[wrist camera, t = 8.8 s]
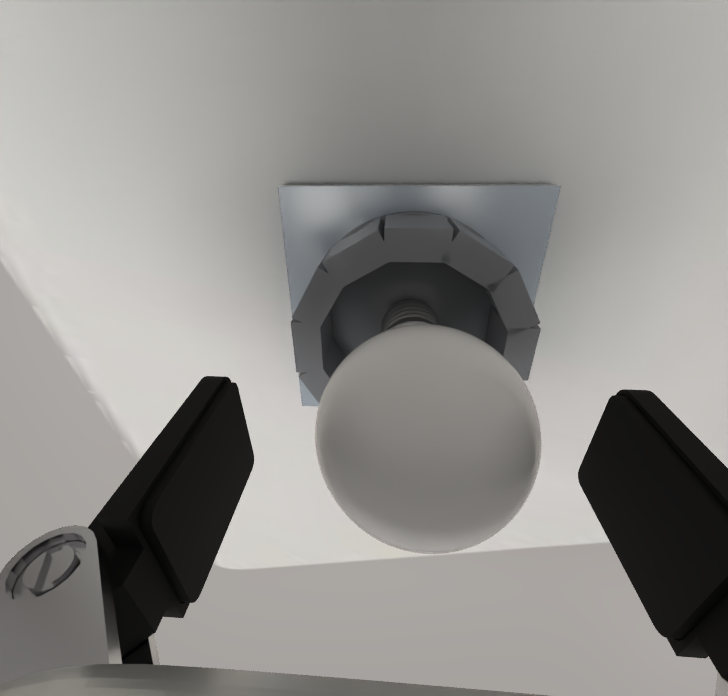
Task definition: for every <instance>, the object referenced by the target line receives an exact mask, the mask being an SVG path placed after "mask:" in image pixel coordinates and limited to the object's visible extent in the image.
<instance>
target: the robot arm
mask: <svg viewBox="0 0 728 696" xmlns="http://www.w3.org/2000/svg"><path fill="white" fill-rule="evenodd" d="M253 464H254V454H253V450H252V445H251V441H250V437H249V433H248V428H247V424H246V420H245V416H244V412H243V407H242V403H241V399H240V395H239V390H238V387H237V384H236V383H231V380H230V379H229V378H228V377H215V376H206V377H204V378H202V379H201V381H200V382H199V383H198V385H197V386H196V387H195V389H194V390H193V391H192V393H191V394H190V395H189V396H188V398H187V399H186V400H185V402H184V403H183V404H182V406H181V407H180V408H179V410H178V411H177V412H176V413H175V415H174V416H173V417H172V419H171V420H170V421H169V423H168V424H167V425H166V427H165V428H164V429H163V430H162V432H161V433H160V434H159V435H158V437H157V438H156V439H155V441H154V442H153V443H152V445H151V446H150V447H149V448H148V450H147V451H146V452H145V454H144V455H143V456H142V458H141V459H140V460H139V461H138V463H137V464H136V465H135V467H134V468H133V470H132V471H131V472H130V473H129V475H128V476H127V477H126V478H125V480H124V481H123V483H122V484H121V485H120V487H119V488H118V489H117V490H116V492H115V493H114V494H113V495H112V497H111V498H110V500H109V501H108V502H107V503H106V505H105V506H104V507H103V509H102V510H101V511H100V513H99V514H98V515H97V516H96V518H95V519H94V520H93V522H92V523H91V524H90V526H89V527H88V528H87V527H83V526H77V525H75V526H68V527H62V528H59V529H56V530H53V531H50V532H48V533H46V534H44V535H42V536H41V537H39V538H37V539H35V540H34V541H32V542H31V543H29V544H28V545H27V546H25V547H24V548H23V549H21V550H20V551H19V552H18V553H17V554H16V555H15V556H14V557H13V558H12V559H11V560H10V561H9V562H8V563H7V564H6V565H5V567H4V568H3V570H2V572H1V573H0V696H547V695H535V694H523V693H511V692H500V691H488V690H477V689H465V688H454V687H442V686H430V685H418V684H406V683H395V682H383V681H370V680H359V679H346V678H333V677H321V676H309V675H296V674H284V673H271V672H259V671H246V670H234V669H218V668H202V667H183V666H168V665H160V662H159V657H158V652H157V647H156V643H155V637H154V633H155V632H156V630H157V628H158V626H159V623H160V622H161V619H162V617H176V618H177V617H178V618H183V617H184V615H185V613H186V610H187V608H188V606H189V603H193V602H195V601H196V600H197V599H198V597H199V595H200V593H201V591H202V589H203V586H204V584H205V581H206V579H207V577H208V574H209V572H210V570H211V567H212V565H213V562H214V560H215V557H216V555H217V553H218V550H219V548H220V545H221V543H222V541H223V538H224V536H225V533H226V531H227V529H228V526H229V524H230V521H231V519H232V517H233V514H234V512H235V509H236V507H237V504H238V502H239V500H240V497H241V495H242V492H243V490H244V488H245V485H246V483H247V480H248V478H249V476H250V473H251V471H252V468H253ZM578 479H579V483H580V485H581V487H582V489H583V491H584V493H585V495H586V497H587V499H588V501H589V503H590V504H591V506H592V508H593V510H594V512H595V514H596V516H597V518H598V520H599V522H600V524H601V525H602V527H603V529H604V531H605V533H606V535H607V537H608V539H609V541H610V543H611V544H612V546H613V548H614V550H615V552H616V554H617V556H618V558H619V560H620V562H621V563H622V565H623V567H624V569H625V571H626V573H627V575H628V577H629V579H630V581H631V582H632V585H633V586H634V588H635V590H636V592H637V594H638V596H639V598H640V600H641V602H642V603H643V605H644V607H645V609H646V611H647V613H648V615H649V617H650V619H651V621H652V623H653V625H654V626H655V628H656V629H657V631H658V632H659V633H660V634H661V635H662V636H664V637H666V638H667V639H668V641H669V643H670V645H671V646H672V648H673V650H674V652H675V654H676V656H682V657H697V658H707V657H708V656H709V657H710V659H711V660H712V662H713V664H714V666H715V667H716V669H717V670H718V674H717V683H716V691H715V696H728V468H727V467H726V466H725V465H724V464H723V463H722V462H721V461H720V460H719V459H718V458H717V457H716V456H715V455H714V454H713V453H712V452H711V451H710V450H709V449H708V448H707V447H706V446H705V445H704V444H703V443H702V442H701V441H700V440H699V439H698V438H697V437H696V436H695V435H694V434H693V433H692V432H691V431H690V430H689V429H688V428H687V427H686V426H685V425H684V424H683V423H682V422H681V420H680V419H679V418H678V417H677V416H676V415H675V414H674V413H673V412H672V411H671V410H670V409H669V408H668V407H667V406H666V405H665V404H664V403H663V402H662V401H661V400H660V399H659V398H658V397H657V396H656V395H655V394H654V393H652V392H651V391H647V390H620V391H619V392H618V393H617V394H616V395H614V396H612V397H610V399H609V401H608V403H607V405H606V408H605V410H604V412H603V415H602V417H601V419H600V422H599V424H598V426H597V429H596V431H595V433H594V436H593V438H592V440H591V443H590V445H589V447H588V450H587V452H586V454H585V457H584V459H583V461H582V464H581V466H580V468H579V472H578Z"/></svg>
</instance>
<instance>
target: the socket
mask: <svg viewBox="0 0 728 696" xmlns="http://www.w3.org/2000/svg"><path fill="white" fill-rule="evenodd" d="M560 187H561V186H559V185H554V184H302V185H281V186H278V191H279V200H280V209H281V218H282V227H283V236H284V245H285V254H286V263H287V272H288V281H289V291H290V300H291V309H292V318H293V320H292V321H291V328H292V337H293V346H294V355H295V363H296V372H299V381H300V390H301V399H302V406H319V403H320V400H321V397H322V394H323V392H324V389H325V387H326V385H327V383H328V381H329V379H330V377H331V376H332V374H333V373H334V371H335V370H336V368H337V367H338V366H339V364H340V363H341V362H342V361H343V360H344V359H345V357H346V356H347V355H348V354H349V353H351V352H352V351H353V350H354V349H355V348H356V347H358V346H359V345H360V344H362V343H363V342H365V341H366V340H368V339H370V338H371V337H373V336H375V335H377V334H379V333H381V326H382V320H383V317H384V315H385V313H386V312H387V310H388V309H389V308H390V307H391V306H393V305H394V304H396V303H398V302H401V301H404V300H418V301H421V302H424V303H426V304H428V305H429V306H430V307H431V308H432V309H433V310H434V311H435V313H436V314H437V317H438V320H439V324H440V325H442V326H447V327H451V328H455V329H458V330H461V331H464V332H467V333H469V334H471V335H473V336H475V337H477V338H479V339H481V340H483V341H484V342H486V343H487V344H489V345H490V346H492V347H493V348H494V349H496V350H497V351H498V352H499V353H500V354H502V355H503V356H504V357H505V358H506V359H507V360H508V361H509V362H510V364H511V365H512V366H513V367H514V368H515V369H516V371H517V372H518V373H519V375H520V376H521V378H522V379H523V380H528V378H529V374H530V370H531V366H532V362H533V358H534V354H535V350H536V345H537V341H538V337H539V333H540V327H539V326H538V325H537V324H540V321H539V319H538V316H537V314H536V311H535V309H534V306H533V305H534V300H535V296H536V292H537V287H538V283H539V279H540V274H541V270H542V265H543V261H544V257H545V252H546V248H547V244H548V239H549V235H550V231H551V226H552V222H553V217H554V213H555V209H556V204H557V200H558V196H559V191H560Z"/></svg>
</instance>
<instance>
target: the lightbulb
mask: <svg viewBox="0 0 728 696" xmlns="http://www.w3.org/2000/svg"><path fill="white" fill-rule="evenodd" d="M315 444H316V452H317V458H318V463H319V466H320V470H321V473H322V476H323V478H324V481H325V483H326V485H327V487H328V489H329V491H330V493H331V495H332V497H333V498H334V500H335V501H336V503H337V504H338V506H339V507H340V508H341V509H342V511H343V512H344V513H345V514H346V515H347V516H348V517H349V518H350V519H351V520H352V521H353V522H354V523H355V524H356V525H357V526H358V527H359V528H361V529H362V530H363V531H365V532H366V533H367V534H369V535H371V536H372V537H374V538H376V539H377V540H379V541H381V542H383V543H385V544H388V545H390V546H393V547H396V548H399V549H402V550H406V551H410V552H416V553H425V554H441V553H449V552H455V551H459V550H463V549H466V548H469V547H472V546H475V545H477V544H479V543H481V542H483V541H485V540H487V539H489V538H490V537H492V536H493V535H495V534H496V533H498V532H499V531H500V530H501V529H503V528H504V527H505V526H506V525H507V524H508V523H509V522H510V521H511V520H512V519H513V518H514V517H515V516H516V514H517V513H518V512H519V511H520V509H521V508H522V506H523V505H524V503H525V502H526V500H527V498H528V496H529V494H530V492H531V490H532V488H533V485H534V483H535V480H536V477H537V473H538V469H539V464H540V458H541V430H540V423H539V418H538V414H537V410H536V407H535V404H534V401H533V399H532V396H531V394H530V392H529V390H528V388H527V386H526V384H525V382H524V381H523V379H522V378H521V376H520V375H519V373H518V372H517V371H516V369H515V368H514V367H513V366H512V365H511V364H510V362H509V361H508V360H507V359H506V358H505V357H504V356H503V355H502V354H500V353H499V352H498V351H497V350H496V349H494V348H493V347H492V346H490V345H489V344H487V343H486V342H484V341H483V340H481V339H479V338H477V337H475V336H473V335H471V334H469V333H467V332H464V331H461V330H458V329H455V328H451V327H447V326H442V325H440V324H439V320H438V317H437V314H436V313H435V311H434V310H433V309H432V308H431V307H430V306H429V305H428V304H426V303H424V302H421V301H418V300H404V301H401V302H398V303H396V304H394V305H393V306H391V307H390V308H389V309H388V310H387V312H386V313H385V315H384V317H383V320H382V326H381V333H379V334H377V335H375V336H373V337H371V338H370V339H368V340H366V341H365V342H363V343H362V344H360V345H359V346H358V347H356V348H355V349H354V350H353V351H352V352H351V353H349V354H348V355H347V356H346V357H345V359H344V360H343V361H342V362H341V363H340V364H339V366H338V367H337V368H336V370H335V371H334V373H333V374H332V376H331V377H330V379H329V381H328V383H327V385H326V387H325V389H324V392H323V394H322V397H321V400H320V403H319V407H318V411H317V417H316V426H315Z"/></svg>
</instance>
